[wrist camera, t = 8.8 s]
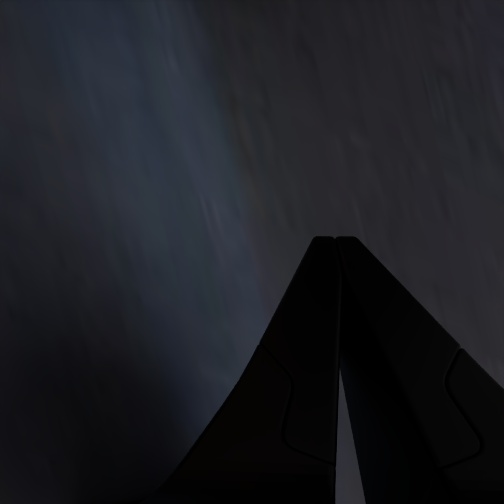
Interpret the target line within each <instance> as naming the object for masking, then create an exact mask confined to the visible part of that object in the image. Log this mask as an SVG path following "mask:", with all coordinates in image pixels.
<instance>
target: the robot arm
mask: <svg viewBox="0 0 504 504" xmlns="http://www.w3.org/2000/svg"><path fill="white" fill-rule="evenodd" d="M460 348H461V346H460V345H459V343H458V342H457V341H456V340H455V339H454V338H453V337H452V336H451V335H450V334H449V333H448V332H447V331H446V330H445V329H444V328H443V327H442V326H441V325H440V324H439V323H438V322H437V321H436V320H435V318H434V317H433V316H432V315H431V314H430V313H429V312H428V311H427V310H426V309H425V308H424V307H423V306H422V305H421V304H420V303H419V302H418V301H417V300H416V299H415V298H414V297H413V296H412V295H411V293H410V292H409V291H408V290H407V289H406V288H405V287H404V286H403V285H402V284H401V283H400V282H399V281H398V280H397V279H396V278H395V277H394V276H393V275H392V274H391V273H390V272H389V271H388V270H387V268H386V267H385V266H384V265H383V264H382V263H381V262H380V261H379V260H378V259H377V258H376V257H375V256H374V255H373V254H372V253H371V252H370V251H369V250H368V249H367V248H366V247H365V246H364V245H363V243H362V242H361V241H360V240H359V239H358V238H356V237H353V236H338V237H336V238H335V239H334V238H333V237H331V236H316V237H314V238H313V239H312V241H311V243H310V245H309V247H308V249H307V251H306V253H305V255H304V257H303V259H302V261H301V262H300V264H299V266H298V268H297V270H296V272H295V274H294V276H293V278H292V280H291V282H290V284H289V286H288V288H287V290H286V292H285V294H284V296H283V297H282V299H281V301H280V303H279V305H278V307H277V309H276V311H275V313H274V315H273V317H272V319H271V321H270V323H269V325H268V327H267V329H266V331H265V333H264V334H263V336H262V338H261V340H260V343H259V345H258V346H257V348H256V350H255V351H254V353H253V355H252V357H251V359H250V361H249V363H248V365H247V366H246V368H245V370H244V372H243V373H242V375H241V377H240V379H239V380H238V382H237V383H236V385H235V386H234V388H233V389H232V391H231V392H230V394H229V395H228V397H227V398H226V400H225V401H224V403H223V404H222V406H221V407H220V409H219V410H218V411H217V413H216V414H215V416H214V417H213V418H212V420H211V421H210V422H209V424H208V425H207V427H206V428H205V429H204V431H203V432H202V434H201V435H200V436H199V438H198V439H197V441H196V442H195V443H194V445H193V446H192V447H191V449H190V450H189V452H188V453H187V454H186V456H185V457H184V459H183V460H182V461H181V463H180V464H179V465H178V467H177V468H176V469H175V470H174V472H173V473H172V474H171V475H170V476H169V478H168V479H167V480H166V481H165V482H164V483H163V484H162V485H161V486H160V487H159V488H158V489H157V490H156V491H155V492H154V493H152V494H151V495H150V496H149V497H147V498H146V499H144V500H140V501H135V502H131V503H126V504H335V481H336V469H335V468H336V452H337V425H338V398H339V370H340V371H341V376H342V382H343V387H344V392H345V397H346V403H347V408H348V413H349V418H350V423H351V429H352V434H353V439H354V444H355V449H356V455H357V460H358V465H359V470H360V476H361V481H362V486H363V491H364V496H365V502H366V504H504V389H503V388H502V387H501V386H500V385H499V384H498V383H497V382H496V381H495V380H494V379H493V378H492V377H491V376H490V375H489V374H488V373H487V372H486V371H485V370H484V369H483V368H482V367H481V366H480V365H479V364H478V363H477V362H476V361H475V360H474V359H473V358H472V357H471V356H470V355H469V354H468V353H467V352H466V351H465V349H463V348H461V349H460Z"/></svg>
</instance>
